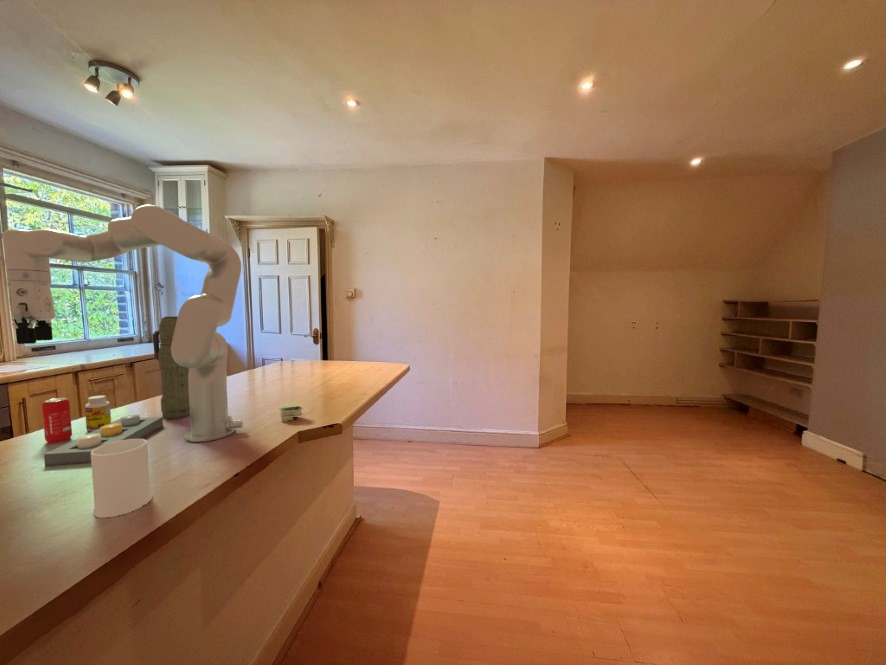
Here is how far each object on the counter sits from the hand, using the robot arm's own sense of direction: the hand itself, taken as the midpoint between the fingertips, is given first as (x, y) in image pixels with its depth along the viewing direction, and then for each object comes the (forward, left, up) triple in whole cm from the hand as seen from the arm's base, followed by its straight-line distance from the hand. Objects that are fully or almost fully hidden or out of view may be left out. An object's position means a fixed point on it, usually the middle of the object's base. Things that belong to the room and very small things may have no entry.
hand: (35, 341), depth 93 cm
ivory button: (-17, +10, -27) cm, 34 cm away
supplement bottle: (-5, -12, -29) cm, 32 cm away
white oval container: (-40, +36, -29) cm, 61 cm away
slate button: (-17, -6, -27) cm, 33 cm away
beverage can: (-1, -3, -29) cm, 29 cm away
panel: (-17, +2, -29) cm, 34 cm away
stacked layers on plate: (-62, -10, -30) cm, 69 cm away
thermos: (-22, -22, -29) cm, 43 cm away
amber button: (-17, +2, -27) cm, 32 cm away
